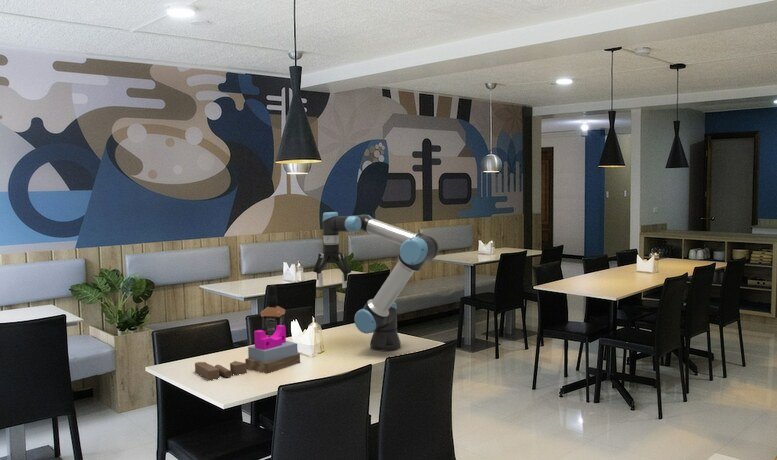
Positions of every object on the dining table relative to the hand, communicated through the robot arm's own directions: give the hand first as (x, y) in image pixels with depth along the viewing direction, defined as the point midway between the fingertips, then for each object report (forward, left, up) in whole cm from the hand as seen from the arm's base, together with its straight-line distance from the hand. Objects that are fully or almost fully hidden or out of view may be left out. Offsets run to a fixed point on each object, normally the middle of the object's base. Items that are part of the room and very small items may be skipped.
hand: (332, 287), depth 315 cm
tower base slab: (+8, +37, -31) cm, 49 cm away
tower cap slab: (+8, +37, -26) cm, 46 cm away
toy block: (+8, +37, -21) cm, 44 cm away
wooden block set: (+22, +56, -31) cm, 67 cm away
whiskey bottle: (+25, +15, -31) cm, 42 cm away
